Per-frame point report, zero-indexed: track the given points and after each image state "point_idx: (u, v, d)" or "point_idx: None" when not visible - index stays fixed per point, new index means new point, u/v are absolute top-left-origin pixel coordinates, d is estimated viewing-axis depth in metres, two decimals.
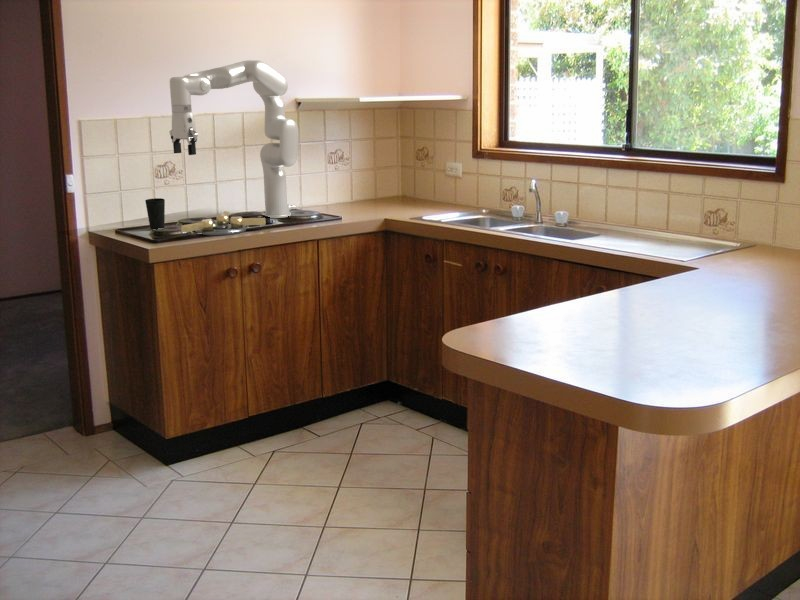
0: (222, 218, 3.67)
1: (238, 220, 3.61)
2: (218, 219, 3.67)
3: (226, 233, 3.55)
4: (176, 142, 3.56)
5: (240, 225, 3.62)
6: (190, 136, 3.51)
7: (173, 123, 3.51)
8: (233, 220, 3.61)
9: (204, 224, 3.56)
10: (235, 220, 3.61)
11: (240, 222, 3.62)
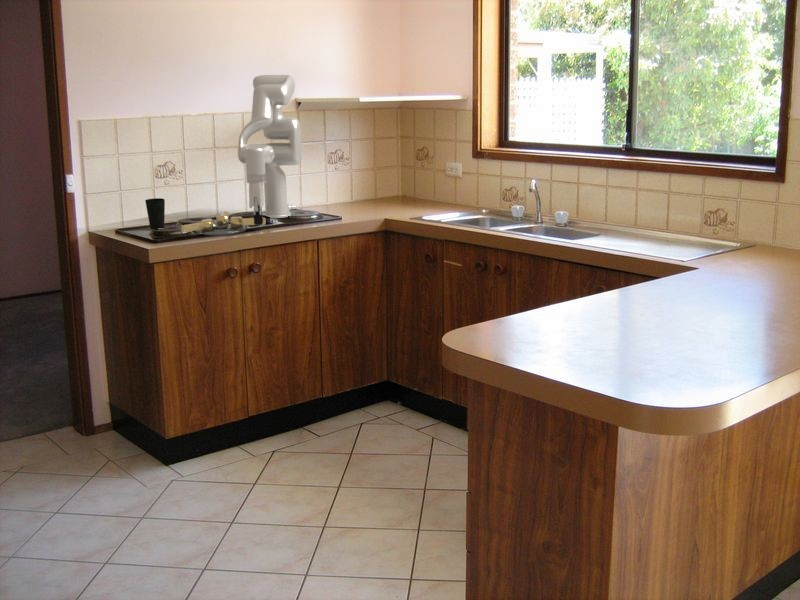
0: (222, 218, 3.67)
1: (238, 220, 3.61)
2: (218, 219, 3.67)
3: (226, 233, 3.55)
4: None
5: (240, 225, 3.62)
6: None
7: (262, 192, 3.55)
8: (233, 220, 3.61)
9: (204, 224, 3.56)
10: (235, 220, 3.61)
11: (240, 222, 3.62)
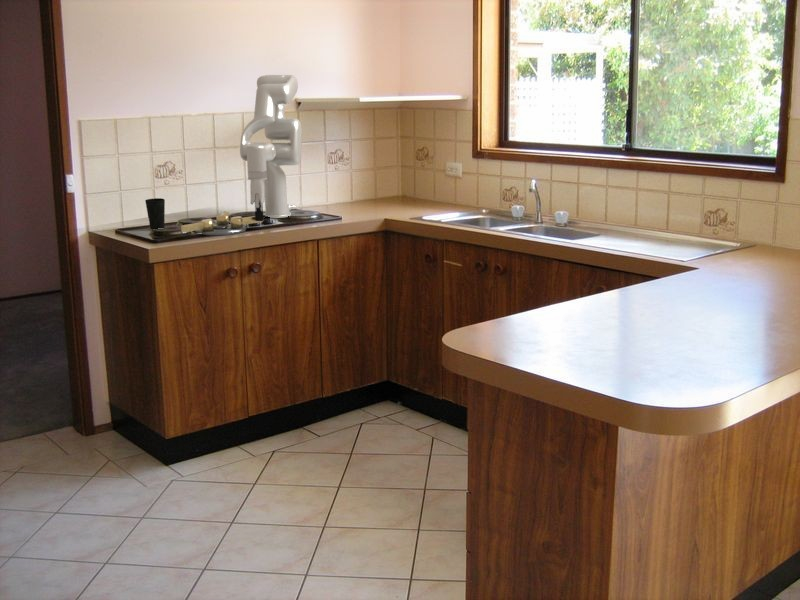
0: (222, 218, 3.67)
1: (241, 219, 3.62)
2: (218, 219, 3.67)
3: (226, 233, 3.55)
4: None
5: (242, 224, 3.63)
6: None
7: (263, 189, 3.60)
8: (237, 220, 3.61)
9: (204, 224, 3.56)
10: (239, 220, 3.61)
11: (242, 221, 3.63)
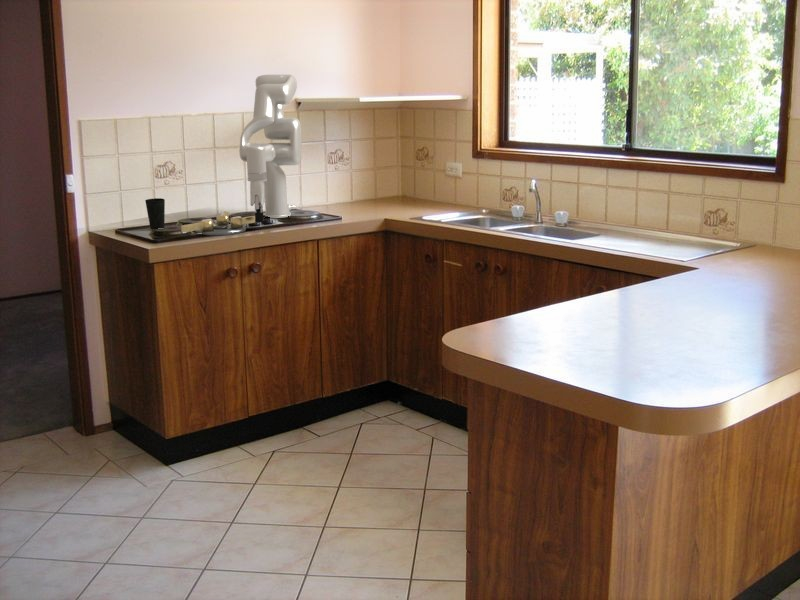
0: (222, 218, 3.67)
1: (241, 219, 3.62)
2: (218, 219, 3.67)
3: (226, 233, 3.55)
4: None
5: (242, 224, 3.63)
6: None
7: (263, 190, 3.59)
8: (237, 220, 3.61)
9: (204, 224, 3.56)
10: (239, 220, 3.61)
11: (242, 221, 3.63)
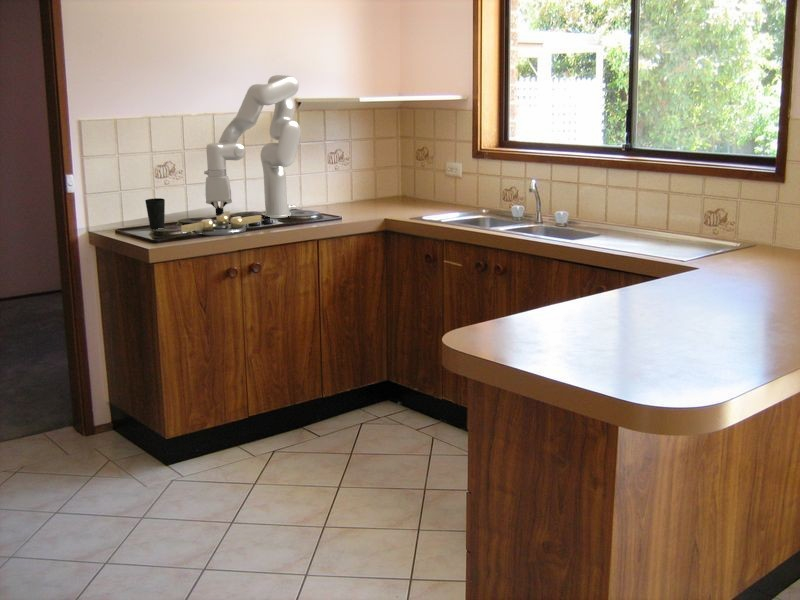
0: (222, 218, 3.67)
1: (241, 219, 3.62)
2: (218, 219, 3.67)
3: (226, 233, 3.55)
4: None
5: (242, 224, 3.63)
6: None
7: None
8: (237, 220, 3.61)
9: (204, 224, 3.56)
10: (239, 220, 3.61)
11: (242, 221, 3.63)
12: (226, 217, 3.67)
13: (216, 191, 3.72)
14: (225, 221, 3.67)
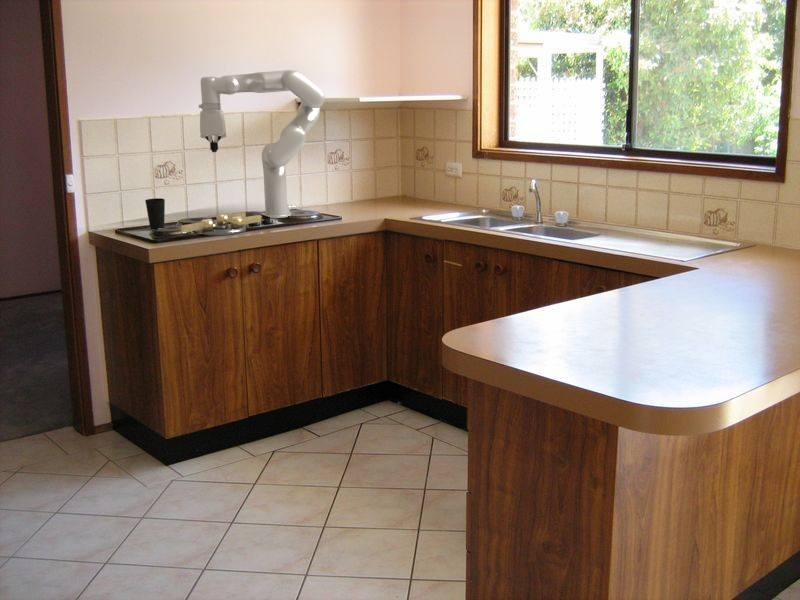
0: (218, 218, 3.67)
1: (241, 219, 3.62)
2: None
3: (226, 233, 3.55)
4: None
5: (242, 224, 3.63)
6: None
7: None
8: (237, 220, 3.61)
9: (204, 224, 3.56)
10: (239, 220, 3.61)
11: (242, 221, 3.63)
12: (222, 217, 3.67)
13: (211, 125, 3.73)
14: (221, 221, 3.67)
